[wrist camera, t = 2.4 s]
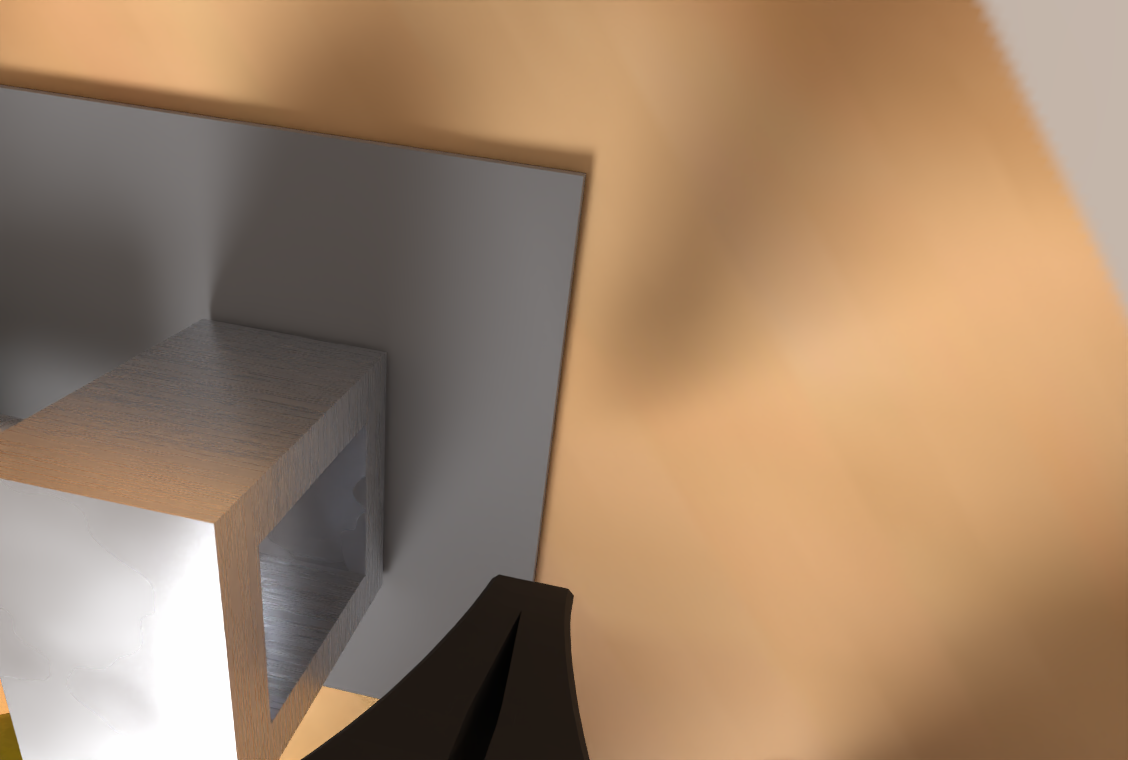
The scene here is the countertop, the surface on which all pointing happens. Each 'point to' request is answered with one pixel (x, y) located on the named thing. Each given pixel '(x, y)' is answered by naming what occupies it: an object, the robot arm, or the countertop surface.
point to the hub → (190, 546)
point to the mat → (311, 310)
